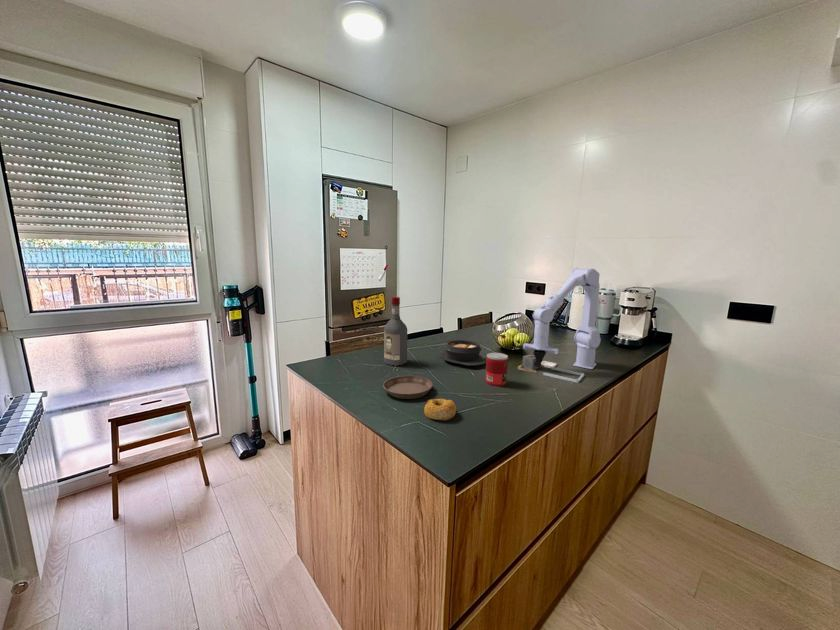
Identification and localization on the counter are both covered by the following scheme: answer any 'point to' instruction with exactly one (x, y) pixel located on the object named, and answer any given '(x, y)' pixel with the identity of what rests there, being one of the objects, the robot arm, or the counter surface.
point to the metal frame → (565, 377)
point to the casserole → (463, 353)
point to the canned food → (496, 369)
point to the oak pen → (528, 369)
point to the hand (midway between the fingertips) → (539, 366)
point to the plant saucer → (407, 387)
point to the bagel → (440, 409)
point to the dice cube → (529, 362)
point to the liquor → (395, 337)
